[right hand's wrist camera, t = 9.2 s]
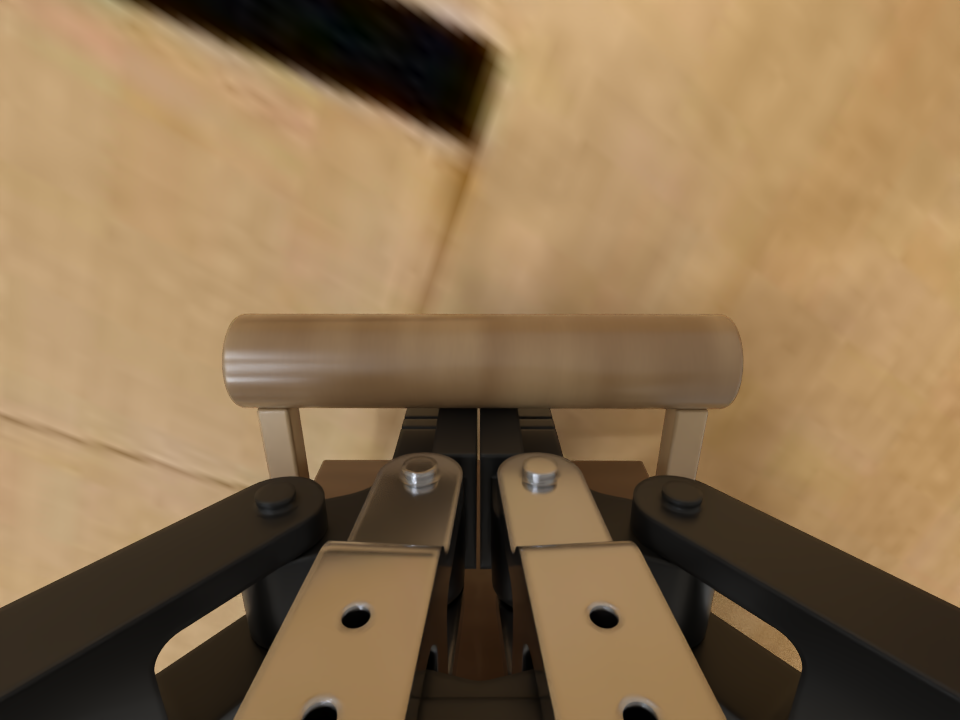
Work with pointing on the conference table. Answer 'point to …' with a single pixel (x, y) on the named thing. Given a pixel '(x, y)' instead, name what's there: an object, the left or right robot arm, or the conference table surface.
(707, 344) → the drawer
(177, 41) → the conference table surface
